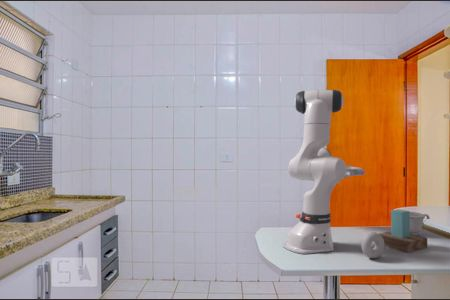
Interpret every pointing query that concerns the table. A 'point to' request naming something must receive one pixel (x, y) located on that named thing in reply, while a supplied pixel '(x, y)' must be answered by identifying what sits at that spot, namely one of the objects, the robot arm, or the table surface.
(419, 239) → the oak base
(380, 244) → the donut
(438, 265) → the table surface
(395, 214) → the teal block
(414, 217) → the teacup
